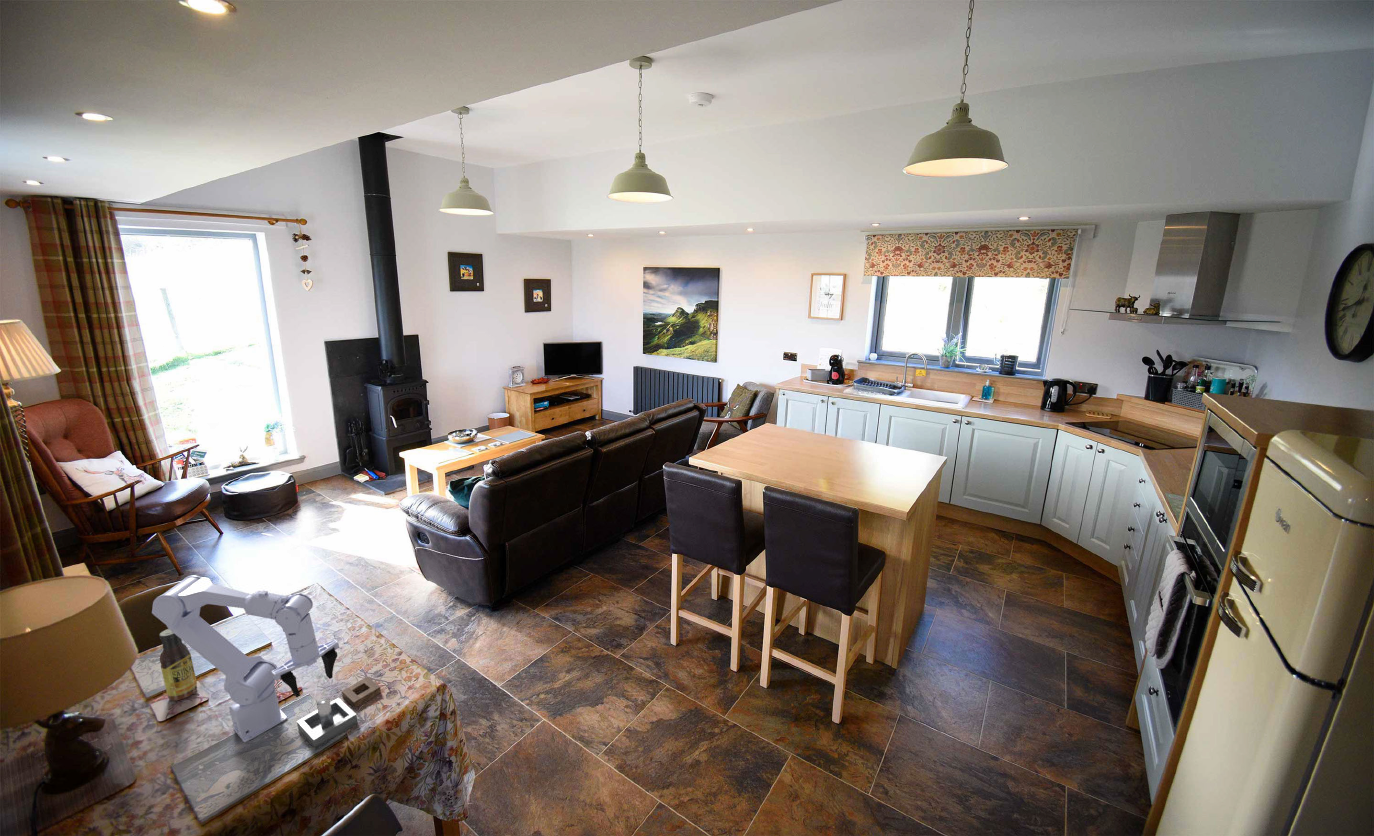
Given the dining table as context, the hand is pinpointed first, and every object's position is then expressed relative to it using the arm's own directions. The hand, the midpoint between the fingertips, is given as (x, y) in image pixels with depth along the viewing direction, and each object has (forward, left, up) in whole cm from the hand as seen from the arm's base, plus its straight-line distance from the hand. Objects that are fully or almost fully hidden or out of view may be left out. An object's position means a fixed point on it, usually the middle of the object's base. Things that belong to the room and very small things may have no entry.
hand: (313, 685), depth 142 cm
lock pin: (0, -5, -9) cm, 11 cm away
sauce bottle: (-18, +40, -11) cm, 46 cm away
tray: (0, -5, -10) cm, 12 cm away
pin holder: (+10, -1, -10) cm, 15 cm away
